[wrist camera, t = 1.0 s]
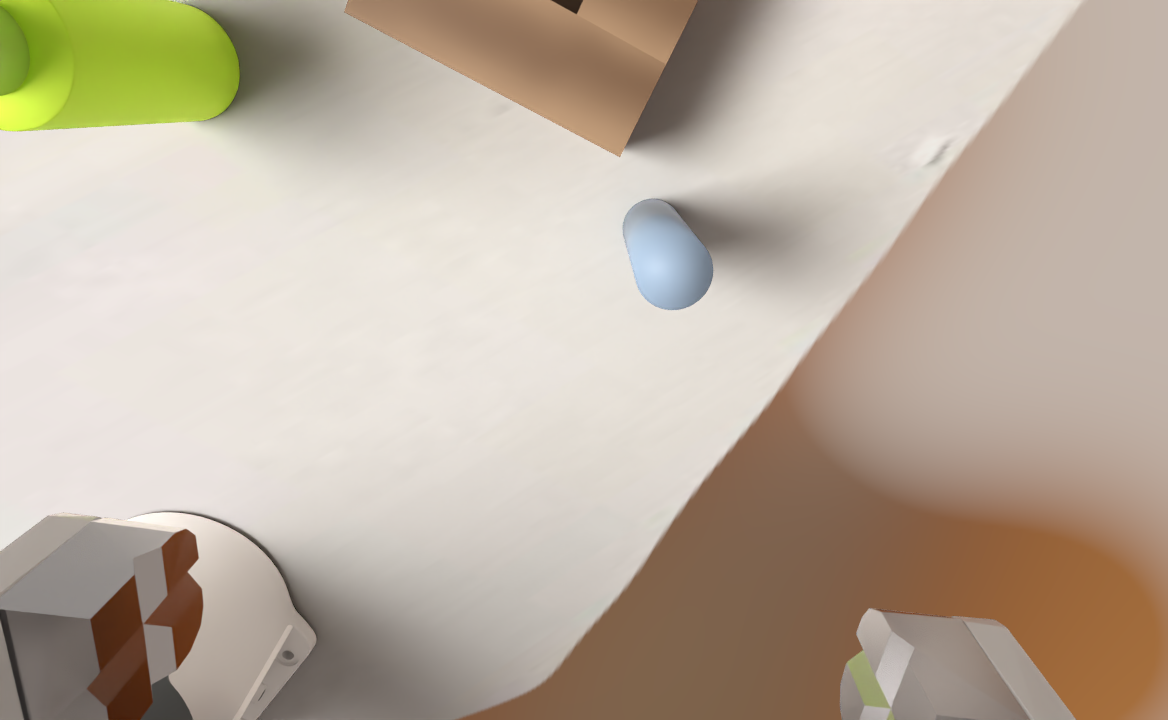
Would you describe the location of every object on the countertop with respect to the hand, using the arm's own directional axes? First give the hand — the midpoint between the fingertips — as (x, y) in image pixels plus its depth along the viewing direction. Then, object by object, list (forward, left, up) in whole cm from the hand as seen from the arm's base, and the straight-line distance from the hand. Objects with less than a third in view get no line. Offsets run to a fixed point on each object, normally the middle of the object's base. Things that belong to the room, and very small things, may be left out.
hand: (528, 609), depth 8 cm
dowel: (+1, -5, -34) cm, 34 cm away
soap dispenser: (-3, +22, -34) cm, 41 cm away
